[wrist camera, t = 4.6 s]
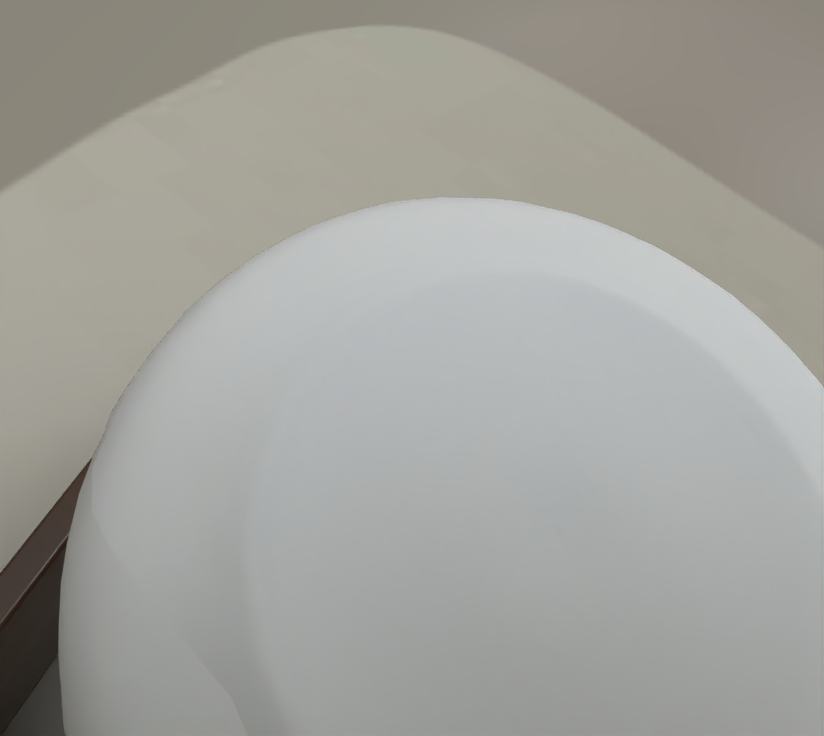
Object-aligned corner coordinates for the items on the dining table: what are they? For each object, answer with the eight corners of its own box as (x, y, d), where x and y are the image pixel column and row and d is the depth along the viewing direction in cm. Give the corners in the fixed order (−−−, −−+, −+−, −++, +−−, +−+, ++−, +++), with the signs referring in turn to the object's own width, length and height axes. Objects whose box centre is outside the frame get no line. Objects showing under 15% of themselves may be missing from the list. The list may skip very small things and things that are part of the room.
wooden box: (431, 1138, 12) (509, 1321, 8) (-112, 841, 12) (-260, 896, 8) (585, 603, 17) (673, 576, 13) (206, 402, 17) (195, 324, 14)
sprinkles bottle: (414, 574, 16) (848, 232, 5) (408, 791, 14) (1208, 1208, 2) (225, 559, 15) (166, 93, 4) (188, 788, 13) (-235, 1404, 2)
